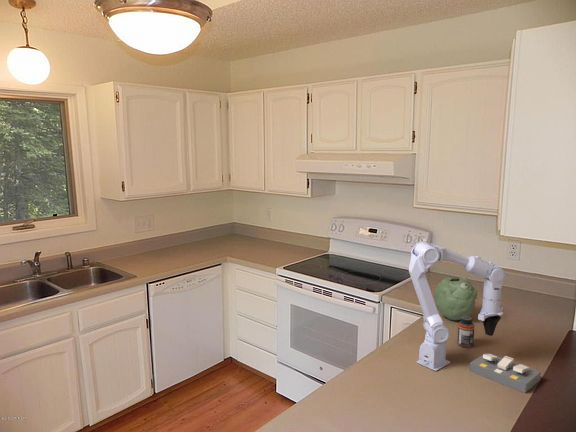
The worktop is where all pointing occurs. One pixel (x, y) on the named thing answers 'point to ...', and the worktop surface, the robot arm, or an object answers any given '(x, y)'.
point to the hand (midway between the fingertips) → (489, 334)
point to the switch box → (505, 374)
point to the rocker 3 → (520, 368)
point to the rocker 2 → (505, 362)
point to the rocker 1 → (490, 357)
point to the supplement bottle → (465, 332)
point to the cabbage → (455, 297)
